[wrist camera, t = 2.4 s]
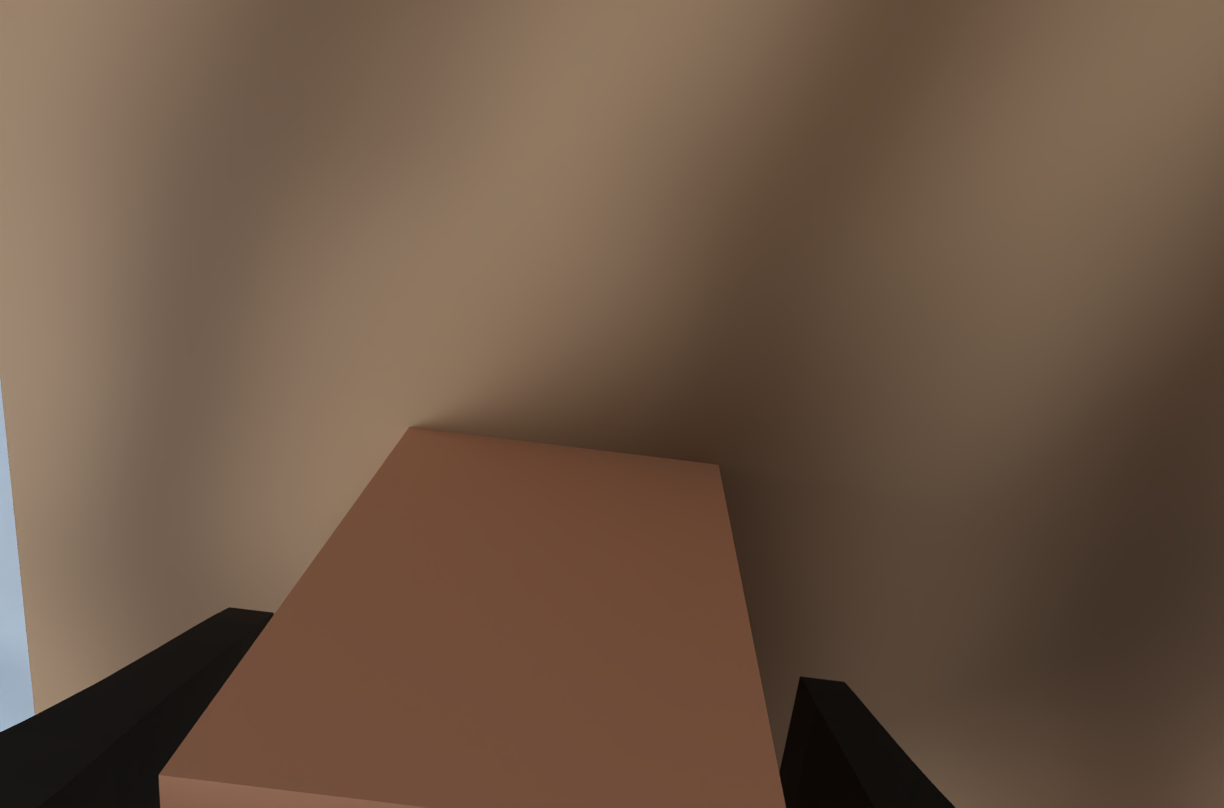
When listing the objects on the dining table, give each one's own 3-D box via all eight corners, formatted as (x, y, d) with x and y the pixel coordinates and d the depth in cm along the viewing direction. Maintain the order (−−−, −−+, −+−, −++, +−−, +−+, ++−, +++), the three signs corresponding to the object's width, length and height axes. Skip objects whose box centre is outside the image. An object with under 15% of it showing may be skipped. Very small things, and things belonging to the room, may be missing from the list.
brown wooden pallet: (1863, -316, 11) (2395, -498, 7) (1305, 888, 16) (1466, 1081, 13) (-23, -553, 11) (-316, -838, 7) (84, 740, 16) (-54, 899, 13)
